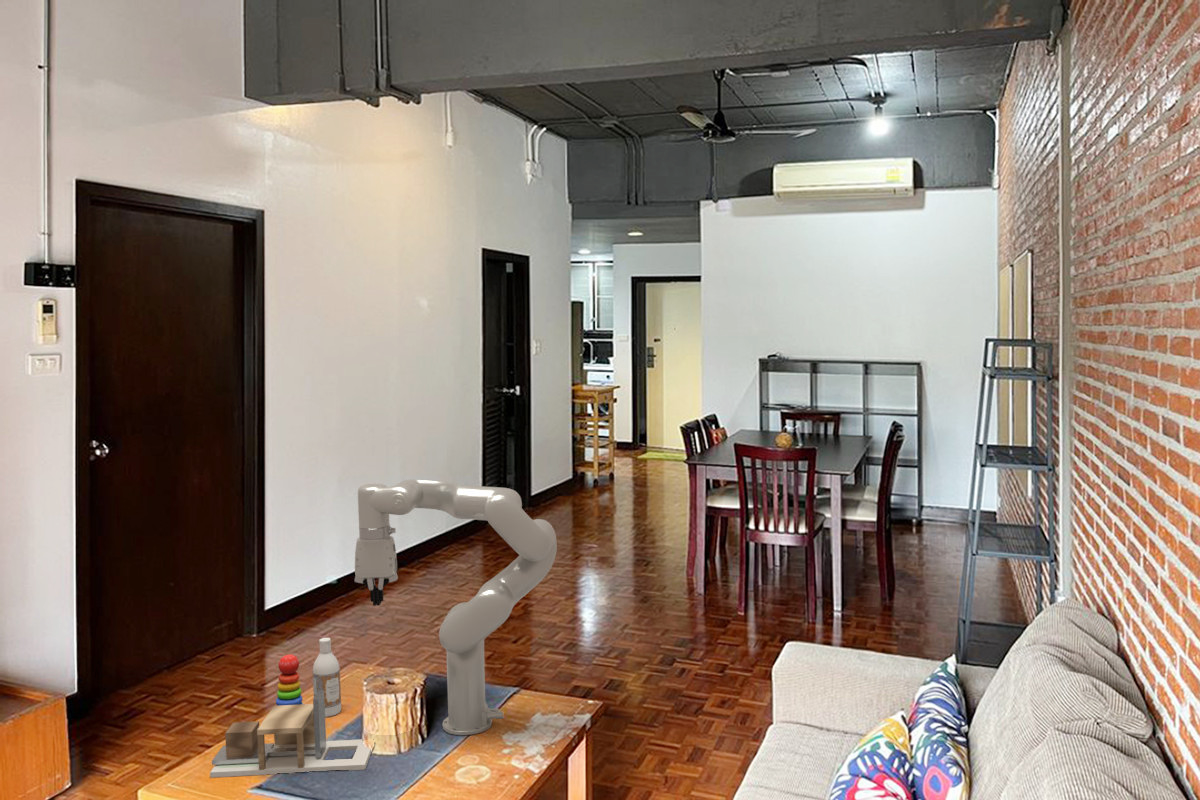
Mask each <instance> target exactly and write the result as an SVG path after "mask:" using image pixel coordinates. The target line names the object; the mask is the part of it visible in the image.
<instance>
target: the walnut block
mask: <svg viewBox="0 0 1200 800" xmlns="http://www.w3.org/2000/svg"><path fill="white" fill-rule="evenodd" d="M259 726H260V721H258V720H257V721H240V722H239V721H238V722H235V721H233V723H231V725H230V726H229V728H228V729H227V730H226V731H225V733H224V734H225V735H224V736H225V746H226V758H239V757H253V756H254V754H255V753H256V751H257V750H258V738H257V729H258V728H259Z"/></svg>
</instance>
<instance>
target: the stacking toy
mask: <svg viewBox="0 0 1200 800" xmlns="http://www.w3.org/2000/svg"><path fill="white" fill-rule="evenodd" d="M299 667H300V660H299V659H298V657H297V656H295V654H285V655H283V656H282V657H281V658H280V659H279V661H278V669H279V671H280V673H281V674H279V676H278V681H279V682H278V684H277V689H278V690H277V692H276V694H277V695H276V696H277V698H276V700H275V703H276V704H275V706H279V705H301V704H304V703H303V696H302V688H301V687H300V686H301V681H299V679H300V674H299V672H297V671H298V669H299Z"/></svg>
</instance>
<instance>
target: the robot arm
mask: <svg viewBox="0 0 1200 800" xmlns="http://www.w3.org/2000/svg"><path fill="white" fill-rule="evenodd" d="M357 504H358V505H357V507H358V511H357V513H358V531H359V536H358V538H356V545H355V550H354V551H355V553H354V574H355V576H354V583H358V584H362V585H363V584H364V586H365V587H367V588H368V590H369V592H370V603H372V605H373V606H372V607H374V606H375V607H376V606H378V607H379V606H380V605H381V603H382V602H384V588H385V587H386V586H387V585H388V584H389V583H393V582H396V581H397V580H398V579H399V576H398V574H397V572H398V560H397V559H398V558H397V550H396V543H395V539H394V536H392V535H393V534H396V533H397V532H396V527H392V526H391V524H390V515H395V516H404V515H407V514H410V513H411V512H412V511H413V510H414V509H427V510H429V509H430V510H436V511H442V512H445V513H447V514H449V515H450V516H451V517H453V518H456V519H457V520H459V519H460V520H477V521H487V522H488V524H489V525H490V526H491V527H492V528H493V530H494V531H495V532H496V533H497V534H498V535H499V536H500V537H501V538H502V539H503V540H504V541H505V542H506V543H507V544H508V546H510V547H511V548H512V549H513V551H515V552H516V553H517V554H518V556H517V557H516V558H515V559H514V560H513V561H512V562H510V563H509V565H508V566H506V567H504V569H502V570H501V571H500V572H499V573H497V574H496V575H495V576H493V577H492V578H490V579H489V580H488V581H486V582H485V583H483V585H482V586H481V587H480V588H479V590H478V591H477V593H476V595H474V597H472V598H471V599H470V600H469V601H467V602H466V601H465V602H460V603H457V604H455V605H454V606H453V607H451V609H450V610H449V611H448V612H447V614H446V616H445V618H444V620H443V621H442V623H441V625H440V628H439V631H438V637H439V642H440V644H441V646H442V648H444V650H446V680H447V682H446V683H447V708H448V709H447V711H448V716H446V718H445V719H443V721H442V729H443V731H445V732H446V733H448V734H451V735H455V736H470V735H472V736H473V735H477V734H480V733H483V732H485V731H487V730H488V729H490V728H491V727H492V725H493V720H503V719H504V711H503V710H500V708H490V707H488V702H486V682H485V681H486V679H485V678H486V676H485V675H486V674H485V639H486V638H487V637H488V636H489V635H491V634H492V633H493V632H495V631H496V630H497V629H498V628H500V626H501V625H503V624H504V623H505V622H506V621H507V619H508V618H509V617H510V615H511V613H512V611H513V609H514V607H515V605H516V604H517V603H518V602H519V601H521V599H522V598H524V597H526V595H527V594H528V593H530V591H532V590H533V589H534V588H536V586H537V585H539V584H540V583H541V582H542V581H543V580H544V578H545V577H547V575H548V574H549V573H550V570H551V569H552V567H553V564H554V562H555V559H556V555H557V548H558V547H557V546H558V542H557V535H556V531H555V529H554V527H553V526H552V524H551V523H550V522H549V521H548V520H545V519H543V518H536V519H532V517H530V516H529V515H528V514H527V512H525V510H524V509H523V508H522V507H523V503H522V497H521V495H520V494H519V493H518V492H517V491H516V490H514V489H513V488H512V489H511V488H507V487H498V486H484V485H483V486H482V485H481V486H480V485H466V484H458V483H450V482H444V481H440V480H439V481H438V480H437V481H436V480H429V479H406V480H402V481H400V482H399V483H397V484H395V485H392V486H387V485H386V484H383V483H368V484H363V485H361V486H360V487H358V489H357ZM375 579H378V585H376V582H375Z"/></svg>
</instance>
